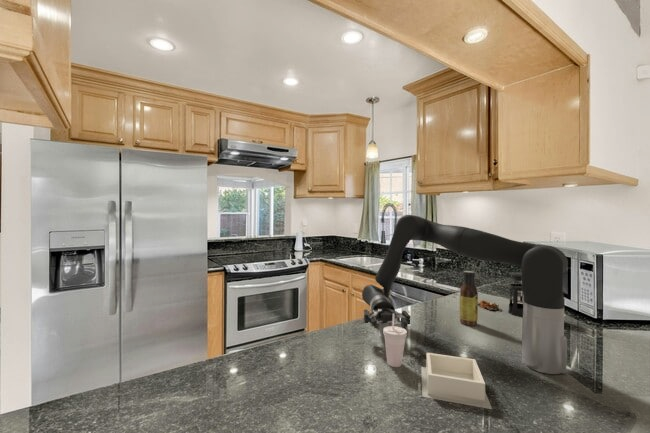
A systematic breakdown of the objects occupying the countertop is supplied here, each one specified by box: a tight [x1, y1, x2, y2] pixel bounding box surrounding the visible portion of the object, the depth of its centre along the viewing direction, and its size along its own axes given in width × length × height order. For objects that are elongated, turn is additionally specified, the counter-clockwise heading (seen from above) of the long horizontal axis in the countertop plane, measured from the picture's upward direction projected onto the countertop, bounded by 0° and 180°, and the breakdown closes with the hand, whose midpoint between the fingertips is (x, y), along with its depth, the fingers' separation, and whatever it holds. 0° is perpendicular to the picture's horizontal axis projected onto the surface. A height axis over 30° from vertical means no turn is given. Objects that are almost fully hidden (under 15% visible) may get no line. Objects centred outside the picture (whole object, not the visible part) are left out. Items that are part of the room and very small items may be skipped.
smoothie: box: [382, 314, 408, 368], centre depth 83 cm, size 6×6×14 cm
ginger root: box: [478, 299, 503, 311], centre depth 139 cm, size 7×12×4 cm, turn 22°
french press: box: [507, 272, 523, 318], centre depth 129 cm, size 12×9×23 cm
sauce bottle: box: [459, 270, 479, 327], centre depth 117 cm, size 7×6×20 cm
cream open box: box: [425, 352, 486, 405], centre depth 73 cm, size 12×12×4 cm
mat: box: [420, 366, 493, 410], centre depth 73 cm, size 14×14×1 cm
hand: (390, 325), depth 90 cm, fingers open, 8 cm apart
